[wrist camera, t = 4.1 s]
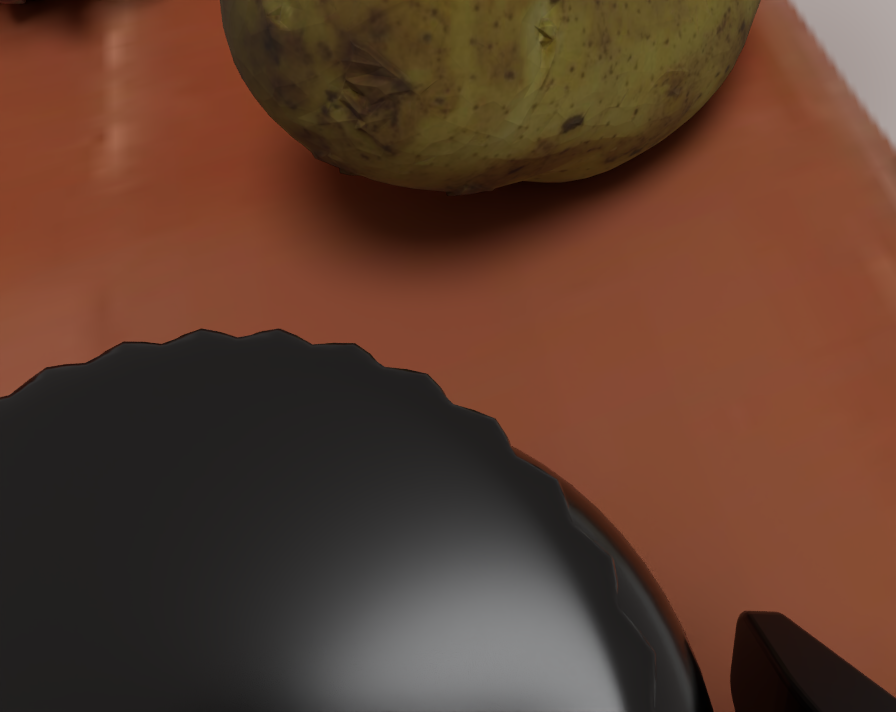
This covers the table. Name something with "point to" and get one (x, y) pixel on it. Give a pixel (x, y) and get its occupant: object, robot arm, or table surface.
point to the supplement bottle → (306, 547)
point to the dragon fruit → (12, 1)
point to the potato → (483, 81)
